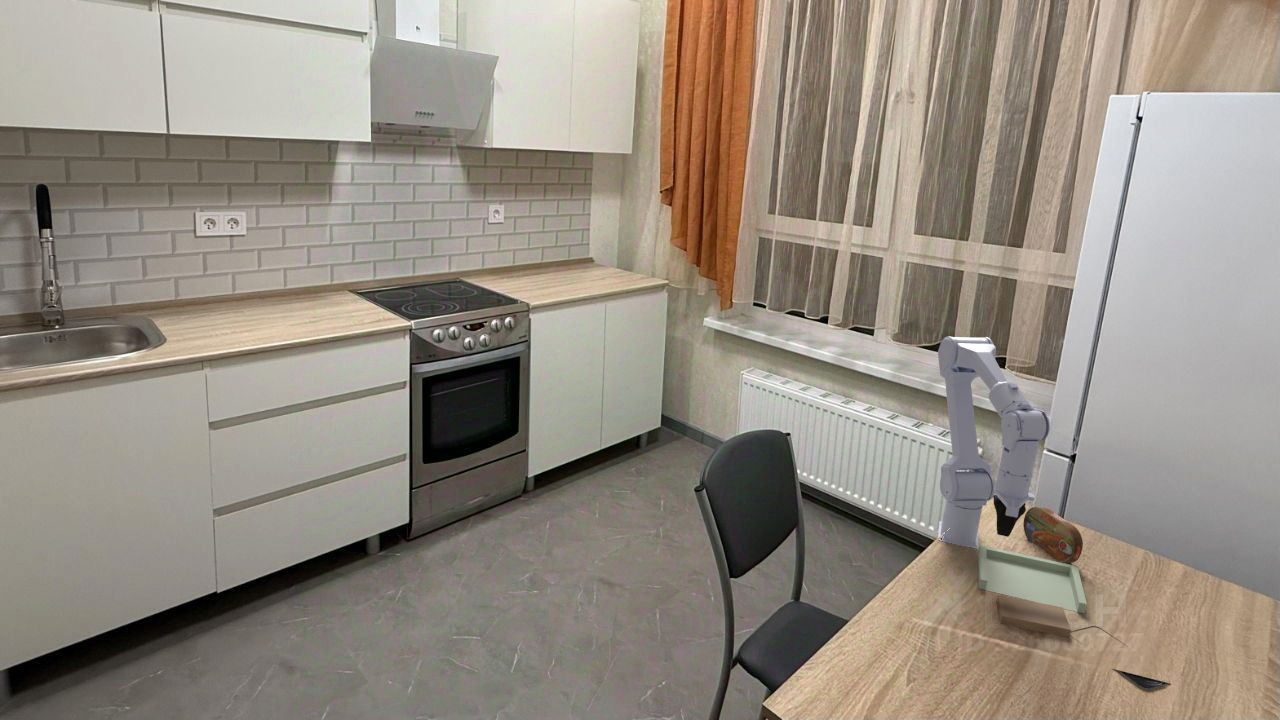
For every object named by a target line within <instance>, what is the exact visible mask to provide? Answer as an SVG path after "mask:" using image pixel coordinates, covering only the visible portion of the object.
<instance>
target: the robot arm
mask: <svg viewBox="0 0 1280 720" xmlns="http://www.w3.org/2000/svg"><path fill="white" fill-rule="evenodd" d="M996 356H997V347H996V346H995V344H994V342H993V340H992V339H991V338H990V337H988V336H982V337H966V336H964V337H963V336H962V337H961V336H960V337H958V336H957V337H956V336H949V335H948V336H945V337H944V338H943V339H942V340H941V342H940V345H939V348H938V350H937V357H938V365H939V366H938V367H939V373H940V375H939V376H940V377H942V378H943V379H944V381H945V382H944V383H945V384H944V385H945V393H946V401H947V403H946V404H947V410H948V411H947V413H948V421H949V422H948V423H949V432H950V442H951V443H950V444H951V452H952V453H951V454H952V456H951V457H950V458H949V459H948V460H947V461H945V463H943V464H942V465H941V467H940V480H939V489H940V493H941V495H942V497H943V498H944V500H945V506H944V510H943V514H942V515H943V516H942V521H941V520H939V522H938V534H937V535H938V536H937V539H938V538H939V537H940V536H941V535H942V534H943V533H944V532H945V534H943V536H944V538H943V536H942V537H941V538H943V539H942V540H941V538H939V540H941V541H940V542H942V541H943V543H946V542H947V544H951V543H952V544H951V545H955V544H956V545H955V546H960V545H961V547H964V546H967V547H966V548H969V547H972V548H971V549H973V548H974V549H973V550H978V549H979V526H980V521H981V516H982V511H983V507H984V506H987V502H989V501H991V500H992V499H993V505H994V508H995V512H996V534H997V535H998V536H1002V537H1007V538H1009V537H1010V536H1011V534H1012V532H1013V530H1014V528H1015V526H1016V524H1017V522H1018V520H1019V519H1020V517H1022V516H1023V515H1024V514H1026V513H1025V512H1027V511H1026V510H1027V509H1026V503H1027V502H1028V501H1031V502H1032V501H1033V502H1034V501H1035V499H1036V496H1035V493H1032V492H1030V487H1031V484H1032V479H1033V478H1032V477H1033V474H1034V469H1035V464H1036V459H1037V454H1038V450H1039V445H1040V441H1041V442H1042V441H1044V440H1046V439H1047V438H1048V436H1049V434H1050V429H1051V428H1050V427H1051V425H1050V419H1049V417H1048V415H1047V413H1046V412H1045V411H1044V410H1043V409H1040V408H1039V409H1038V408H1037V407H1036V406H1032V405H1031V404H1030V402H1029V401H1028V399H1027V397H1026V396H1025V395H1024V393H1023V392H1022V390H1021V389H1020V388H1019V386H1018V384H1017V383H1015V382H1012V381H1007V378H1006V376H1005V374H1004V372H1003V371H1002V369H1001V367H1000V366H999V364H998V362H997V360H996ZM977 378H980V379H981V380H982V381H983V383H984V384H985V386H986V387H987V388H988V389H989V393H988V399H989V401H990V403H991V405H992V406H993V408H994V409H995V411H996V412H997V414H998V416H999V417H1000V419H1001V422H1000V427H1001V433H1002V436H1001V445H1002V446H1003V448H1002V454H1001V458H1000V463H999V469H998V473H997V480H995V478H994V476H993V473H992V468H991V464H990V463H988V461H986V460H984V459H983V458H982V457H981V456H980V454H979V446H978V437H977V430H976V429H977V428H976V420H975V419H976V418H975V411H974V409H975V407H974V400H973V390H972V382H973V381H974V380H975V379H977ZM949 528H950V529H949ZM948 529H949V530H948ZM947 530H948V531H947ZM939 540H938V541H939ZM962 545H963V546H962ZM976 546H977V547H976Z"/></svg>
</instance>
